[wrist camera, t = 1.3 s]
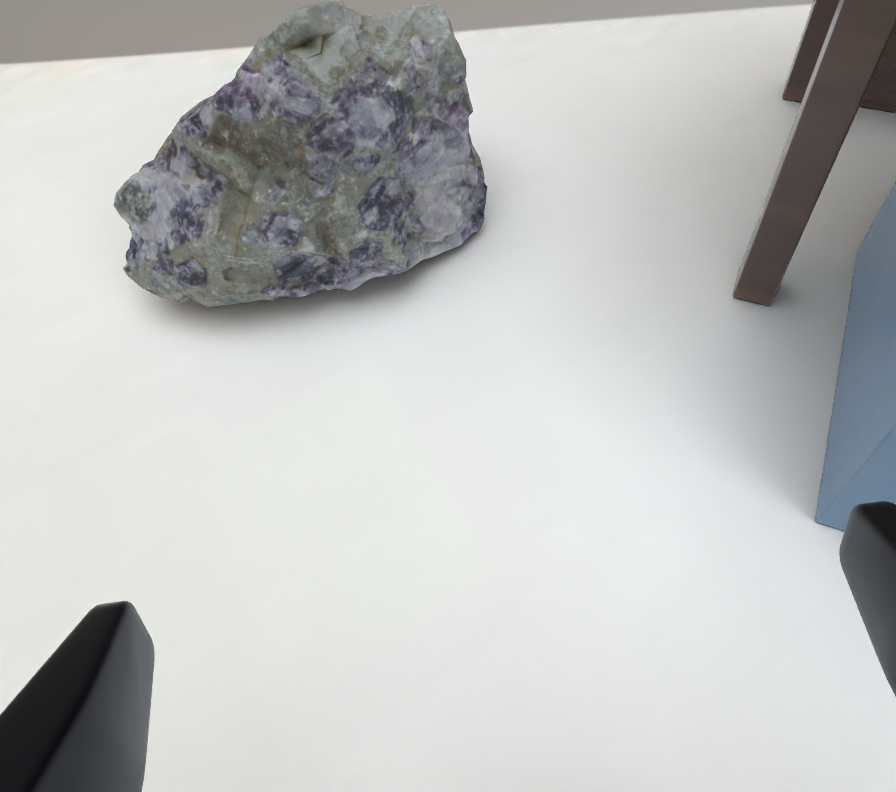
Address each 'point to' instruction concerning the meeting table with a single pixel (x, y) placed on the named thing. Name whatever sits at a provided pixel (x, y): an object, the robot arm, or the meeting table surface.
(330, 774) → the meeting table surface
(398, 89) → the mineral rock
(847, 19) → the side table
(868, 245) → the storage box
